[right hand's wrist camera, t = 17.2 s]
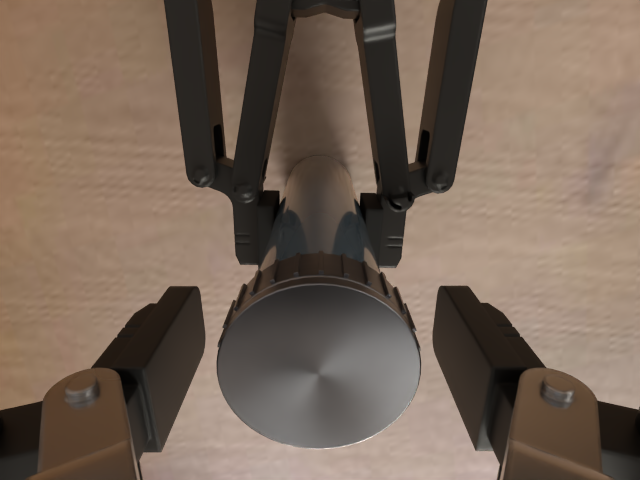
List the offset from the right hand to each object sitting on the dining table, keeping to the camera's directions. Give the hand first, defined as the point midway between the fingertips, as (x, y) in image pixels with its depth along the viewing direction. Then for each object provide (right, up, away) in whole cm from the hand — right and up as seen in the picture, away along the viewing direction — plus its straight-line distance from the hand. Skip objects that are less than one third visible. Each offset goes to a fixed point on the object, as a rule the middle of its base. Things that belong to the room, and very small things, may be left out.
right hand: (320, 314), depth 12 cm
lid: (0, -1, -2) cm, 2 cm away
